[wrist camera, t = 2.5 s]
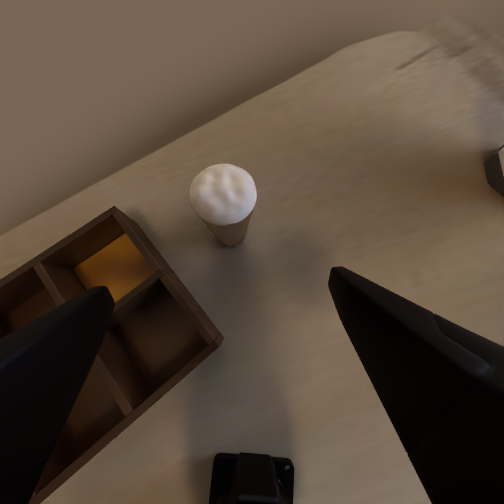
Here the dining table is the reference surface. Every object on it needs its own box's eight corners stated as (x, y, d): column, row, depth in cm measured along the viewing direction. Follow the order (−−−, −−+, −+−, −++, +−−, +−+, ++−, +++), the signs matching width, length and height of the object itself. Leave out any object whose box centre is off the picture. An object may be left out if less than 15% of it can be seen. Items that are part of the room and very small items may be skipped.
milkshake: (214, 265, 21) (190, 232, 12) (205, 217, 23) (176, 151, 13) (258, 255, 22) (270, 216, 12) (247, 209, 23) (249, 139, 13)
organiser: (224, 338, 20) (219, 346, 16) (78, 465, 17) (29, 512, 13) (136, 222, 22) (114, 205, 18) (-3, 317, 19) (-64, 320, 16)
